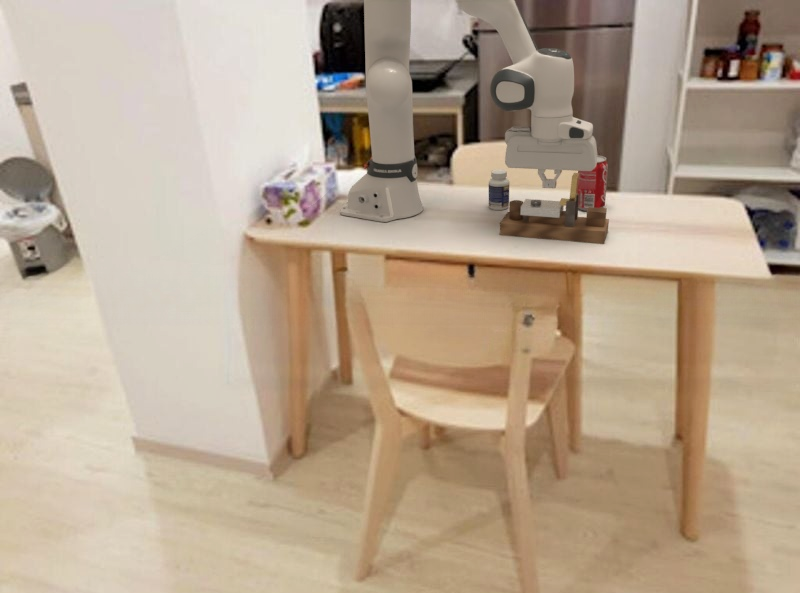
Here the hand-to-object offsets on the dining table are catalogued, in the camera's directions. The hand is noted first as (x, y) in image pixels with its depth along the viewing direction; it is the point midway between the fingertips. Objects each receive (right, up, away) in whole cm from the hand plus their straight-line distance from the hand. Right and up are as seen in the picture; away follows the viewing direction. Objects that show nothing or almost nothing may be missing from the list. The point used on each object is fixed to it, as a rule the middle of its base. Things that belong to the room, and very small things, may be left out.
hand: (549, 187), depth 150 cm
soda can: (+15, -3, +18) cm, 23 cm away
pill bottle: (-8, -2, +23) cm, 24 cm away
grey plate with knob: (-1, -5, +3) cm, 6 cm away
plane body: (+2, -10, +5) cm, 11 cm away
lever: (+4, -4, 0) cm, 6 cm away
